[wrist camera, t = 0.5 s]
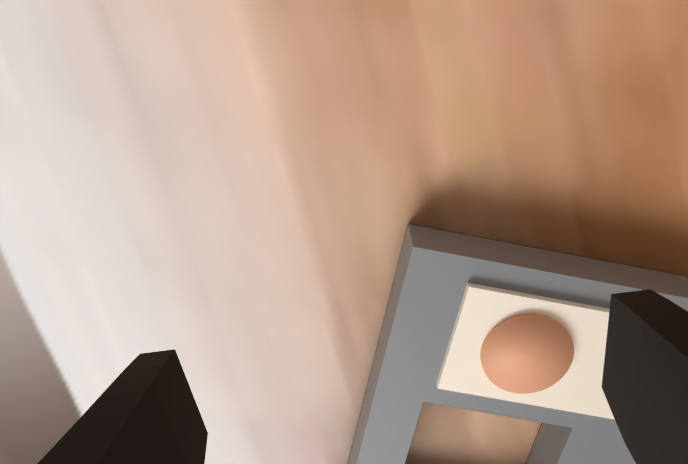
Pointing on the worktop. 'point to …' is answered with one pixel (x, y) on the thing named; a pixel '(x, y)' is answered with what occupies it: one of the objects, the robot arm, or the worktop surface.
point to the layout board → (499, 344)
